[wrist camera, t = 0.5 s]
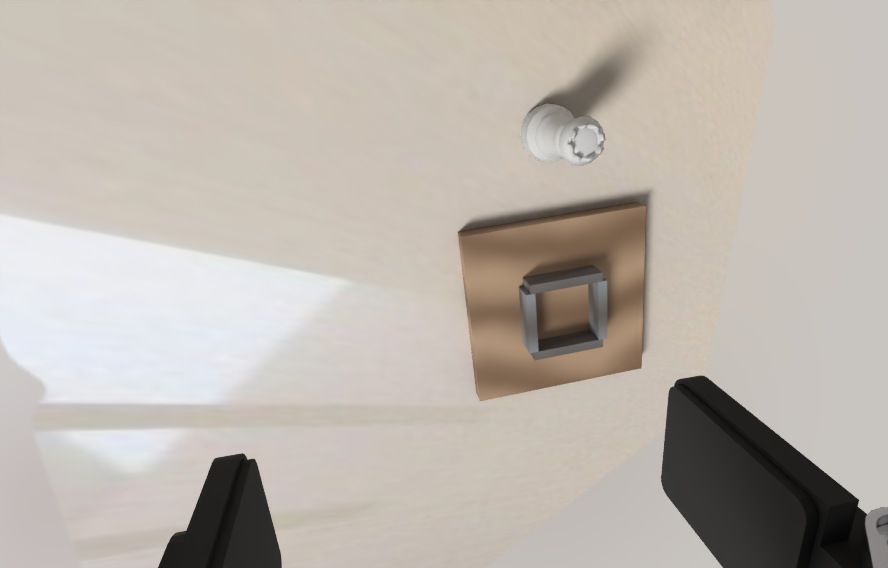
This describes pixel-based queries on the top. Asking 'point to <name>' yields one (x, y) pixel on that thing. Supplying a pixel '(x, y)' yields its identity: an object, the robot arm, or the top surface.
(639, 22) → the top surface
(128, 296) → the top surface
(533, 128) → the rook chess piece
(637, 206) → the jig board
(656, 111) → the top surface
